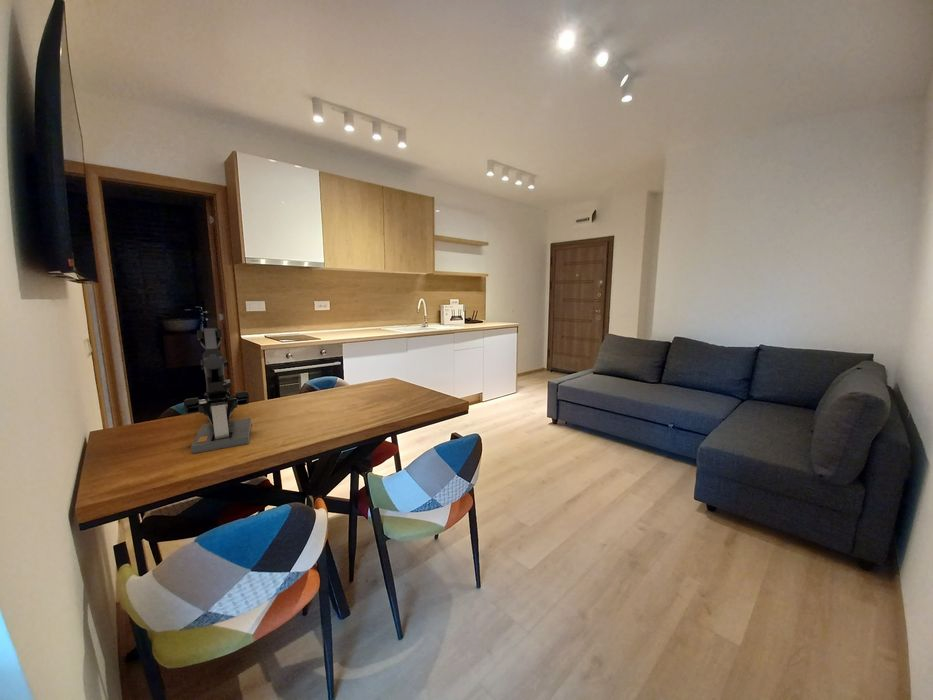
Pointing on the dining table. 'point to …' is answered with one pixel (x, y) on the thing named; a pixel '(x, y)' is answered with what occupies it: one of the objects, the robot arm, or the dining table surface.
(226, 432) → the steel peg
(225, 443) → the flange plate
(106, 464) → the dining table surface
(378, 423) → the dining table surface
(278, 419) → the dining table surface
